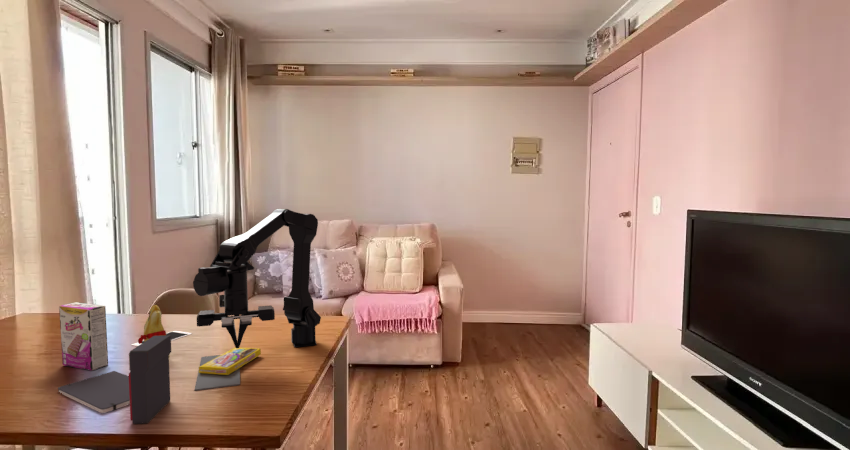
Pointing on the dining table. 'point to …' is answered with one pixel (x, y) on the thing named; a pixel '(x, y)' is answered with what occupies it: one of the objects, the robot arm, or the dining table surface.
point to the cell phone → (173, 335)
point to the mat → (215, 377)
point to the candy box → (230, 361)
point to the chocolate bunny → (153, 325)
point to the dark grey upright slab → (149, 378)
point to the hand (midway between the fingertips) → (237, 347)
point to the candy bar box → (83, 335)
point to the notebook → (100, 391)
